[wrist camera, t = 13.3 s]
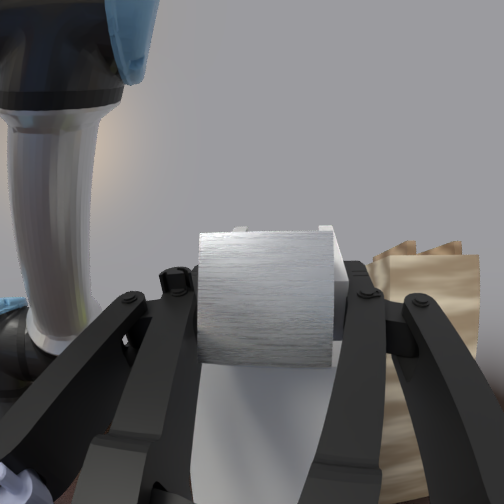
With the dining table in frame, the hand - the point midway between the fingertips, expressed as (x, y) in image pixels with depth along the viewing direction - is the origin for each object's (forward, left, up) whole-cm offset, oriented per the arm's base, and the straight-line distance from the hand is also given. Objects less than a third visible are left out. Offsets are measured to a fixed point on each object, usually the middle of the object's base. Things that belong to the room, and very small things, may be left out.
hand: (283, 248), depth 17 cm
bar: (-5, +3, -5) cm, 7 cm away
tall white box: (-5, +3, -29) cm, 30 cm away
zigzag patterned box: (-6, +23, -29) cm, 38 cm away
